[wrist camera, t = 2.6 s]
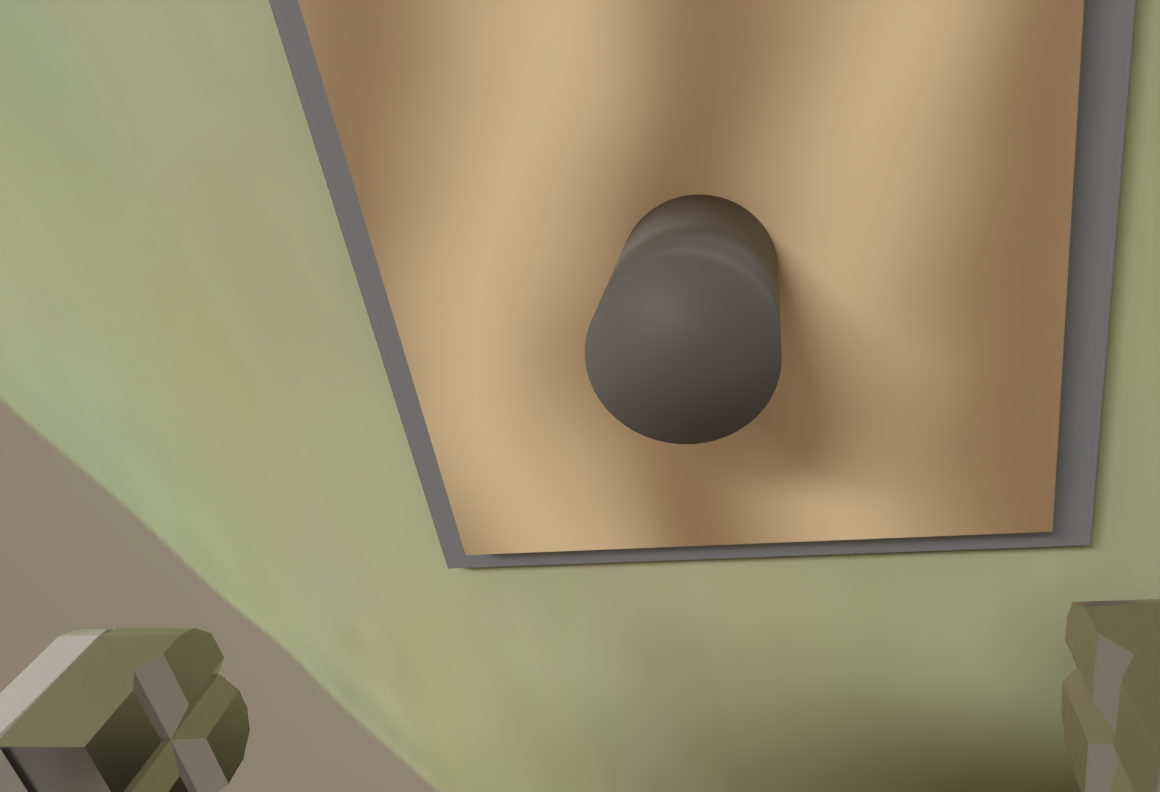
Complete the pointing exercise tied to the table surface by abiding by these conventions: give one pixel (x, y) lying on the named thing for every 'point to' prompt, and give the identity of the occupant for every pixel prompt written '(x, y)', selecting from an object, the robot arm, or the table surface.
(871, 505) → the lid
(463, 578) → the table surface
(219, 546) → the table surface
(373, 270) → the mat
